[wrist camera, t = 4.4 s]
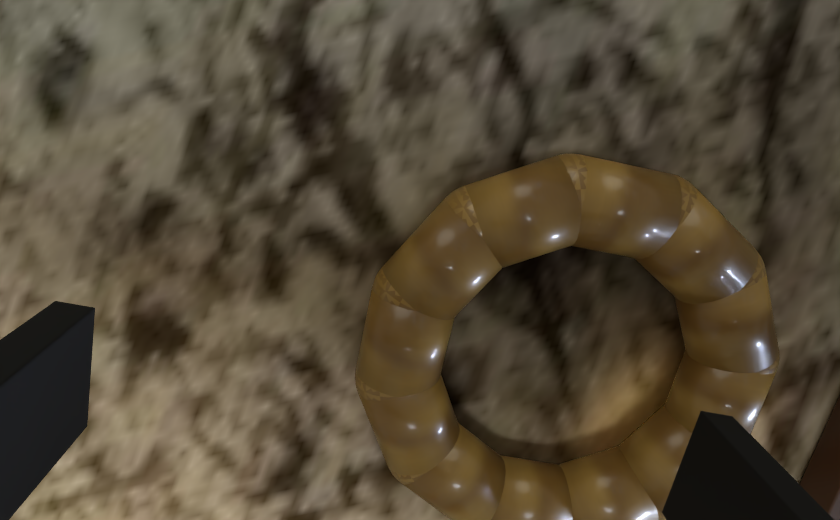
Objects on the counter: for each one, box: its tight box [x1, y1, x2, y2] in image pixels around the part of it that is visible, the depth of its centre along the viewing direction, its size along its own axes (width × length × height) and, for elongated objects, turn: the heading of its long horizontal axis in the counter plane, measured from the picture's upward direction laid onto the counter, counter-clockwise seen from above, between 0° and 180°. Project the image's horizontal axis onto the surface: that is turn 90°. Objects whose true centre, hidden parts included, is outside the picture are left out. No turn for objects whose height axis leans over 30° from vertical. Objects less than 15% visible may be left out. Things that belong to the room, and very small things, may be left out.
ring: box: [355, 153, 779, 520], centre depth 18 cm, size 12×12×2 cm
